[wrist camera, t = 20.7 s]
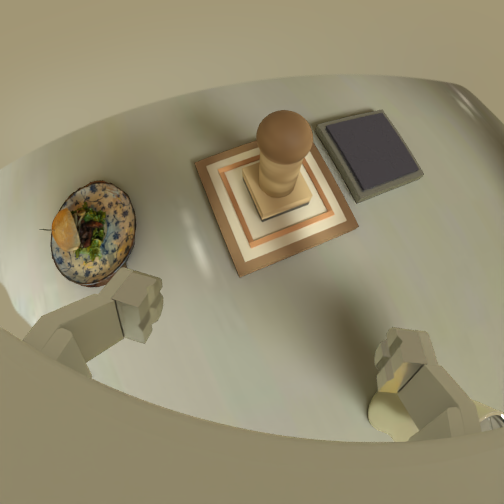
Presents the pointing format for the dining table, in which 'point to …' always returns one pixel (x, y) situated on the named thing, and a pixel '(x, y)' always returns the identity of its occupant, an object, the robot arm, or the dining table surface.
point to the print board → (278, 228)
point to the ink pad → (369, 154)
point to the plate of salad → (93, 234)
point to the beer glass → (401, 424)
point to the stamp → (279, 165)
